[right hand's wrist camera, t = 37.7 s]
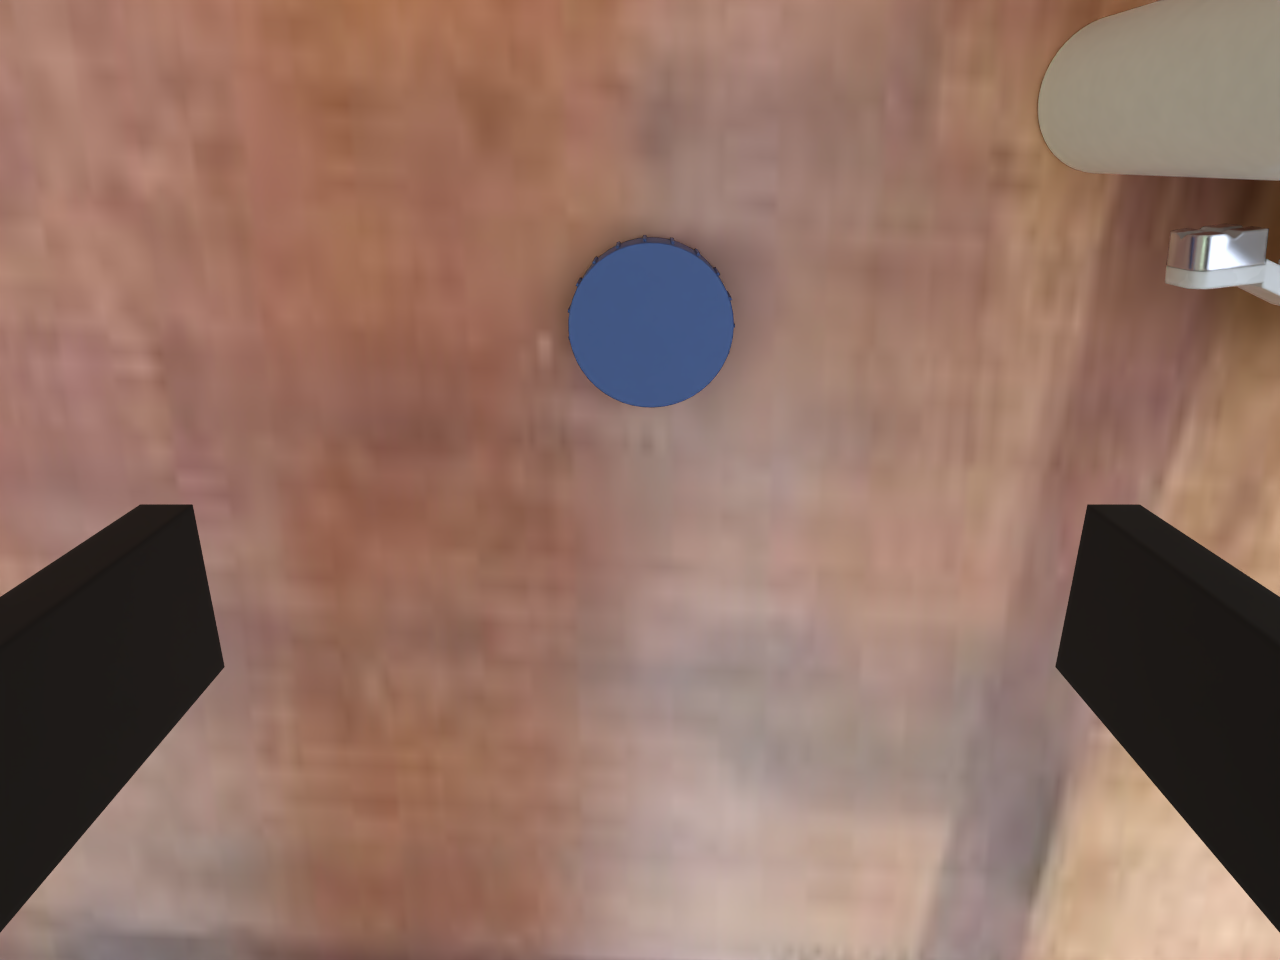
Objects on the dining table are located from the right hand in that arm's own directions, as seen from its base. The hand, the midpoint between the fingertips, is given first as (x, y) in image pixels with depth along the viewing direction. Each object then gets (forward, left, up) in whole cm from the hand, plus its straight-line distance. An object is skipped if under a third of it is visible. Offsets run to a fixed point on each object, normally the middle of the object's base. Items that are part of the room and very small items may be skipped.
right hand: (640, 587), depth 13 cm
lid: (0, +1, -18) cm, 18 cm away
